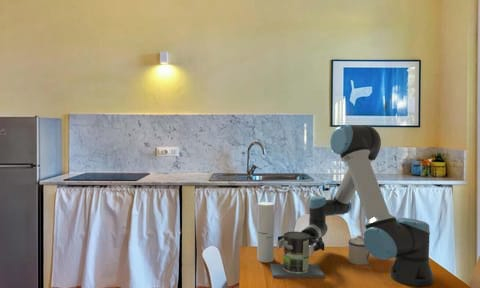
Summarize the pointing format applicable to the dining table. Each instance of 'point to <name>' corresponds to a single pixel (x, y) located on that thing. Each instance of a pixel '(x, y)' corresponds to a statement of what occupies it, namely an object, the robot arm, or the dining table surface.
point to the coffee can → (296, 252)
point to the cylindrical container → (265, 232)
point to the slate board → (312, 272)
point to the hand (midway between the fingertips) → (293, 248)
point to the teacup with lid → (358, 251)
